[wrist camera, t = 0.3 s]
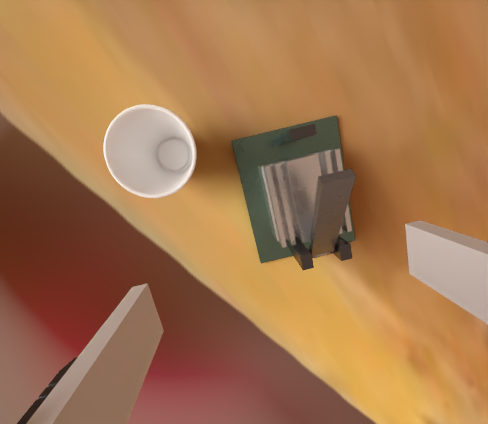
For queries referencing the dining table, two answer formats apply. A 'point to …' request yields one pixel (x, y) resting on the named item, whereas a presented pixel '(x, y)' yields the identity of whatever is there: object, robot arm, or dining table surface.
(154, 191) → the cup
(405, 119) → the dining table surface
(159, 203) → the dining table surface
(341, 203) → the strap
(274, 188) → the green circuit board
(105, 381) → the robot arm
